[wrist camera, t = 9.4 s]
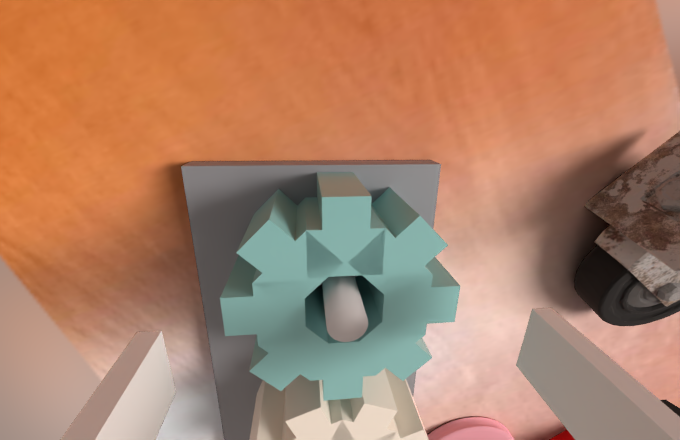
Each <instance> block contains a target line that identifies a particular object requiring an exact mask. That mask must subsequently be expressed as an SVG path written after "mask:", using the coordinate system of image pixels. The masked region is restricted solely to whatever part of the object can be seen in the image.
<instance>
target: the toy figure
mask: <svg viewBox="0 0 680 440" xmlns="http://www.w3.org/2000/svg"><path fill="white" fill-rule="evenodd" d="M427 436H428V439H429V440H515V439H514V438H513V437H512V436H511V434H510V432H509V430H508V429H507V428H506V427H505V426H504V425H503V424H501V423H500V422H498V421H496V420H493V419H489V418H483V417H470V418H463V419H459V420H455V421H452V422H449V423H447V424H445V425H443V426H441V427H439V428H437V429H435V430H434V431H432V432H431V433H430V434H428V435H427Z"/></svg>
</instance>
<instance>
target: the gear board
mask: <svg viewBox="0 0 680 440" xmlns="http://www.w3.org/2000/svg"><path fill="white" fill-rule="evenodd" d="M440 168H441V164H439V163H437V162H434V161H432V160H350V161H191V162H188V163H186V164H184V165H182V166H181V170H182V176H183V182H184V188H185V195H186V201H187V207H188V214H189V220H190V226H191V232H192V239H193V245H194V251H195V257H196V264H197V270H198V276H199V283H200V289H201V295H202V301H203V308H204V314H205V320H206V326H207V333H208V339H209V345H210V351H211V358H212V364H213V370H214V377H215V383H216V389H217V395H218V402H219V408H220V414H221V420H222V427H223V433H224V439H225V440H249V439H250V433H251V427H252V420H253V414H254V408H255V402H256V396H257V392H258V390H259V387H260V385H261V383H262V381H263V380H262V379H261V378H259V377H258V376H256V375H254V374H253V373H251V372H250V371H249V370H250V365H251V360H252V355H253V350H254V345H255V340H256V335H257V334H253V335H237V336H225V331H224V324H223V317H222V309H221V302H220V297H221V295H222V292H223V290H224V288H225V285H226V283H227V281H228V279H229V276H230V274H231V272H232V269H233V267H234V265H235V262H236V260H237V258H238V256H239V255H238V254H237V253H236V252H237V250H238V248H239V246H240V243H241V241H242V239H243V237H244V235H245V233H246V230H247V228H248V226H249V224H250V222H251V219H252V217H253V215H254V213H255V212H256V211H257V210H258V209H259V208H260V207H261V206H262V205H263V204H264V203H265V202H266V201H267V200H268V199H269V198H270V197H271V196H272V195H273V194H274V193H275V192H276V191H277V190H278V189H279V190H280V191H282V192H283V193H284V194H285V195H286V196H287V197H288V198H289V199H290V200H292V201H293V202H294V203H295V204H296V205H298V204H299V203H300V202H301V201H302V200H303V199H304V198H305V197H317V172H353V173H354V174H355V175H356V176H357V178H358V179H359V180H360V182H361V183H362V184H363V186H364V187H365V188H366V190H367V191H368V192H369V193H370V195H371V196H372V199H371V204H372V203H373V202H374V201H375V200H376V199H377V198H379V197H380V196H381V195H382V194H383V193H384V192H385V191H386V190H387V189H388V188H389V187H390V188H391V189H392V190H393V191H394V192H395V193H396V194H397V195H398V196H400V197H401V198H402V199H403V200H404V201H405V202H406V203H407V204H408V205H409V206H410V207H411V208H412V209H414V210H415V211H416V212H417V213H418V214H419V215H420V216H421V217H422V218H423V219H424V220H425V221H426V222H427V224H428V225H429V226H430V227H431V228H432V229H433V226H434V218H435V209H436V201H437V193H438V184H439V176H440ZM355 277H356V276H335V277H328V278H327V279H326V280H324V281H323V282H322V283H321V284H320V285H321V286H322V289H323V299H324V308H325V318H326V327H327V331H328V333H329V335H330V336H331V337H332V338H333V339H335V340H337V341H340V342H350V341H354V340H356V339H358V338H360V337H361V336H362V335H363V334H364V333H365V332H366V330H367V327H368V319H367V315H366V312H365V309H364V305H363V302H362V299H361V295H360V292H359V289H358V286H357V282H356V279H355ZM415 376H416V371H415V372H414V373H412V374H411V375H410V376H409V377H407V378H406V381H407V383H408V386H409V388H410V391H411V394H412V396H413V393H414V384H415Z"/></svg>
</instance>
